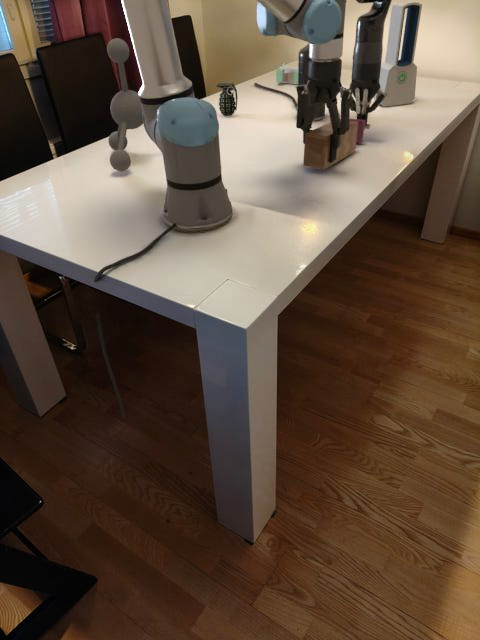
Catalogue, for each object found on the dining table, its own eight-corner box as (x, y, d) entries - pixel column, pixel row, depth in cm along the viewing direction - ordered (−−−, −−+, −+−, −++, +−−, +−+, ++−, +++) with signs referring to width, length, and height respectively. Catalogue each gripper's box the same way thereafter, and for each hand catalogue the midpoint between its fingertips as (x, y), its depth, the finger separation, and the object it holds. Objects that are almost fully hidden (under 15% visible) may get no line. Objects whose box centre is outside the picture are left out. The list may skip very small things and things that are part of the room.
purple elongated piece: (355, 136, 146) (357, 114, 142) (369, 138, 144) (373, 116, 140) (319, 155, 129) (321, 130, 126) (335, 157, 127) (338, 133, 124)
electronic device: (382, 107, 168) (394, 4, 149) (371, 102, 174) (382, 2, 155) (414, 102, 170) (430, 0, 152) (403, 98, 176) (417, -1, 158)
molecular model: (194, 162, 134) (180, 38, 116) (114, 177, 128) (87, 49, 110) (171, 138, 152) (156, 27, 133) (100, 151, 146) (75, 36, 127)
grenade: (217, 117, 168) (214, 86, 162) (221, 112, 172) (219, 82, 166) (235, 117, 166) (233, 86, 160) (239, 113, 171) (238, 82, 165)
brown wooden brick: (335, 148, 138) (338, 118, 134) (354, 152, 135) (358, 121, 131) (303, 165, 125) (305, 133, 120) (323, 169, 122) (326, 136, 117)
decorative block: (299, 55, 215) (340, 58, 206) (298, 71, 219) (339, 75, 210) (267, 66, 199) (310, 70, 190) (267, 83, 203) (309, 88, 194)
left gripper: (371, 57, 109) (361, 159, 123) (296, 53, 118) (295, 148, 132) (357, 64, 104) (349, 169, 119) (281, 59, 113) (281, 158, 127)
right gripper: (396, 58, 130) (388, 126, 140) (350, 56, 136) (345, 121, 146) (385, 63, 125) (378, 133, 135) (338, 61, 131) (334, 127, 142)
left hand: (320, 158), depth 125 cm, fingers closed on brown wooden brick, 6 cm apart
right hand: (361, 126), depth 141 cm, fingers closed
